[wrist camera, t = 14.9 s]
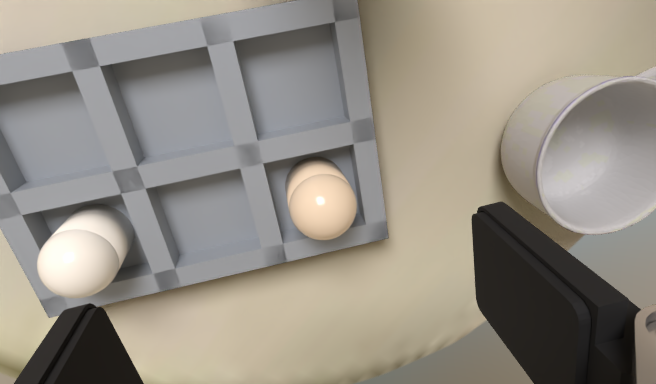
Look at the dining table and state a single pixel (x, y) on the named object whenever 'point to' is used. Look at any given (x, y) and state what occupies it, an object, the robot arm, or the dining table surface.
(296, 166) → the beige rounded lump
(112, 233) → the cream egg
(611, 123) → the teacup
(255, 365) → the dining table surface
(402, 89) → the dining table surface
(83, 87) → the egg tray
